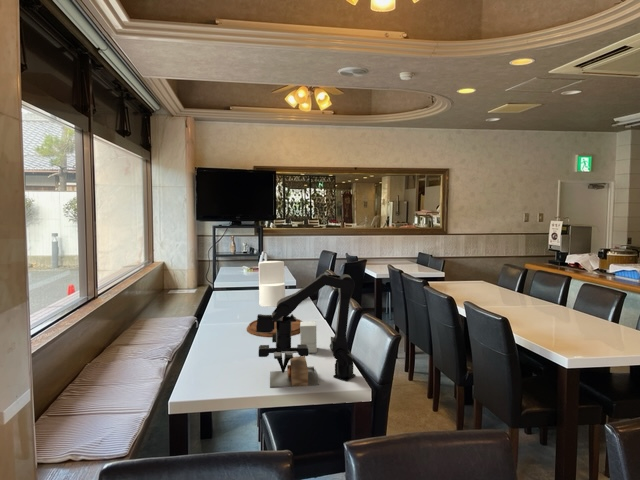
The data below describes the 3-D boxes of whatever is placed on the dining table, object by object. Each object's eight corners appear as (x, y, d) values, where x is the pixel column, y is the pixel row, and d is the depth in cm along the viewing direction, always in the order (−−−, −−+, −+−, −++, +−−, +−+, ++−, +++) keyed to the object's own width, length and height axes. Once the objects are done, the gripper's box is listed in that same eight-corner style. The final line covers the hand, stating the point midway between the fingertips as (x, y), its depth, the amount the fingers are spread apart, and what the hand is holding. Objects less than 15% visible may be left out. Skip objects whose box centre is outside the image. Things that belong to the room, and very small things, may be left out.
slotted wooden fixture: (315, 370, 169) (314, 355, 169) (318, 385, 155) (318, 369, 155) (270, 372, 167) (269, 357, 167) (269, 387, 153) (269, 371, 153)
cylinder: (256, 302, 286) (255, 261, 284) (280, 299, 293) (279, 260, 291) (263, 308, 271) (263, 265, 268) (289, 305, 278) (288, 263, 275)
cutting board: (292, 340, 207) (292, 335, 207) (235, 334, 217) (235, 329, 217) (314, 323, 237) (314, 319, 237) (263, 318, 247) (263, 314, 247)
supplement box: (316, 347, 196) (316, 321, 195) (316, 353, 189) (316, 325, 188) (300, 347, 196) (300, 321, 195) (300, 353, 188) (300, 325, 187)
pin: (313, 373, 164) (313, 361, 164) (314, 378, 160) (314, 366, 159) (287, 374, 163) (287, 363, 163) (287, 379, 159) (287, 367, 158)
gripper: (306, 326, 168) (305, 363, 169) (259, 326, 166) (259, 364, 167) (308, 334, 157) (308, 375, 158) (258, 335, 155) (258, 376, 156)
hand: (283, 372), depth 160 cm, fingers closed
